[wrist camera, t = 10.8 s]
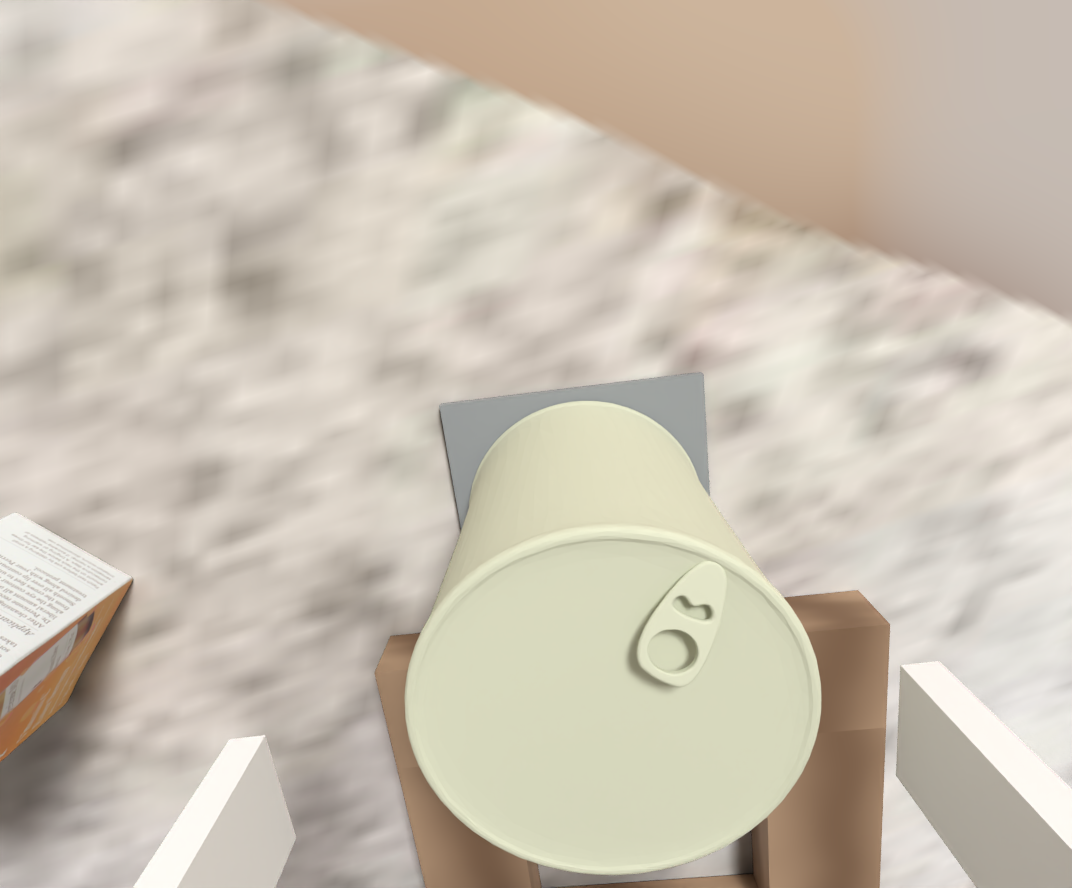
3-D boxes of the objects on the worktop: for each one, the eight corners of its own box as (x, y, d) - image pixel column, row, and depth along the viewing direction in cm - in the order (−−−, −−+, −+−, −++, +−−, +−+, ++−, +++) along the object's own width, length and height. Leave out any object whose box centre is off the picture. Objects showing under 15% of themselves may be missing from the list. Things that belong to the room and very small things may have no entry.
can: (746, 466, 24) (930, 660, 12) (628, 647, 26) (687, 952, 14) (534, 357, 23) (515, 453, 11) (432, 556, 25) (329, 804, 14)
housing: (464, 961, 32) (456, 1018, 30) (390, 636, 27) (374, 672, 24) (850, 937, 31) (875, 993, 29) (858, 590, 25) (889, 624, 23)
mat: (480, 627, 26) (479, 632, 26) (441, 403, 24) (439, 406, 23) (713, 604, 26) (715, 609, 25) (700, 372, 23) (703, 374, 23)
